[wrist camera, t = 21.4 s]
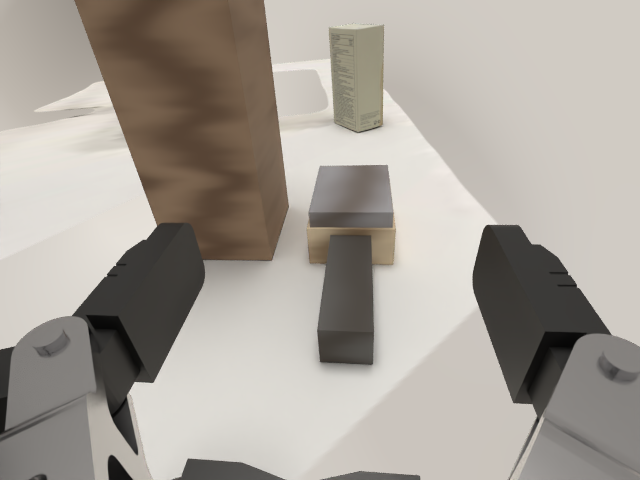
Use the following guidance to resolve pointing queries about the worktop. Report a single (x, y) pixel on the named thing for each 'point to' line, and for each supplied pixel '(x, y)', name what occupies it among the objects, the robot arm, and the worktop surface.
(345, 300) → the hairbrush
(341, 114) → the skincare box
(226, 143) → the walnut stand
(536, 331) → the robot arm
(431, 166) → the worktop surface
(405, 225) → the worktop surface
